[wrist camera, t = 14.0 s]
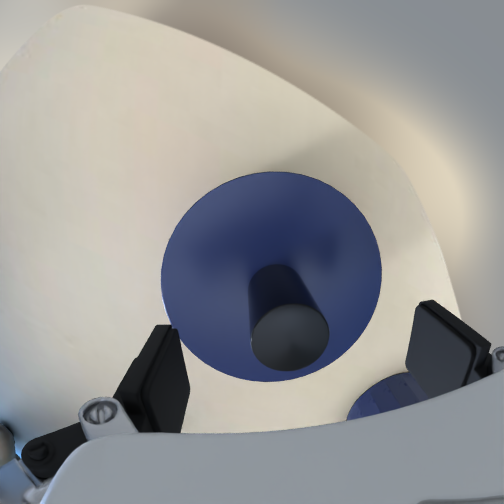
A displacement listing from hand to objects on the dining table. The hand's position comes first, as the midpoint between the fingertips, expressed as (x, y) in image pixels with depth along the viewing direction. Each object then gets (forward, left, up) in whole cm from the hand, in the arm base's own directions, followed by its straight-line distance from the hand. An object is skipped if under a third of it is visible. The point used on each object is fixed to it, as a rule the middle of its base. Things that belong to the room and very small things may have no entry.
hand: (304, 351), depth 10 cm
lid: (0, 0, -7) cm, 7 cm away
